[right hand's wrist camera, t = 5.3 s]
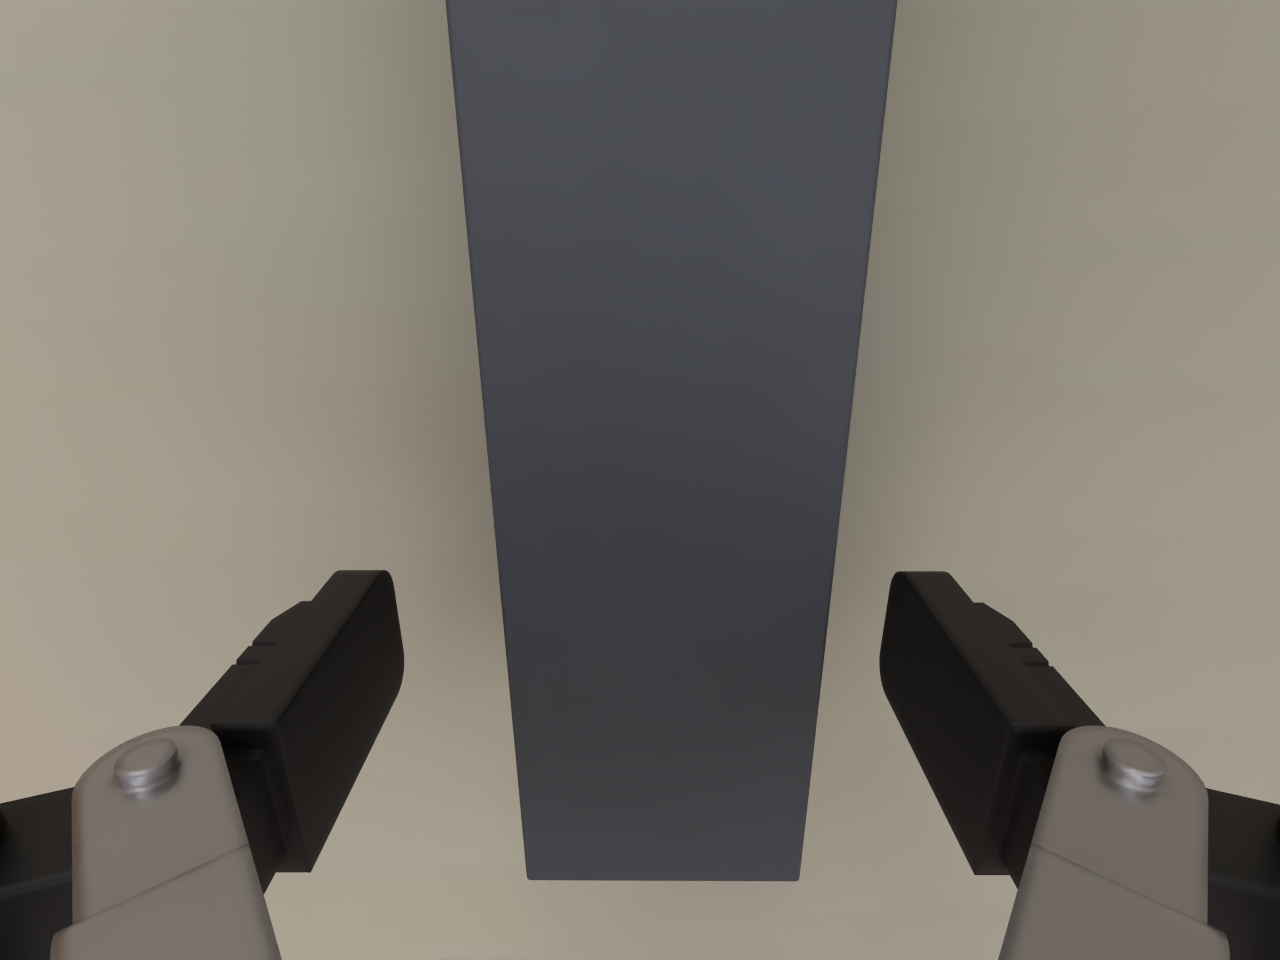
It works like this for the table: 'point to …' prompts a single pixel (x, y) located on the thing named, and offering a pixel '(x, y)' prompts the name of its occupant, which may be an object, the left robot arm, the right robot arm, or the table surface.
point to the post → (667, 403)
